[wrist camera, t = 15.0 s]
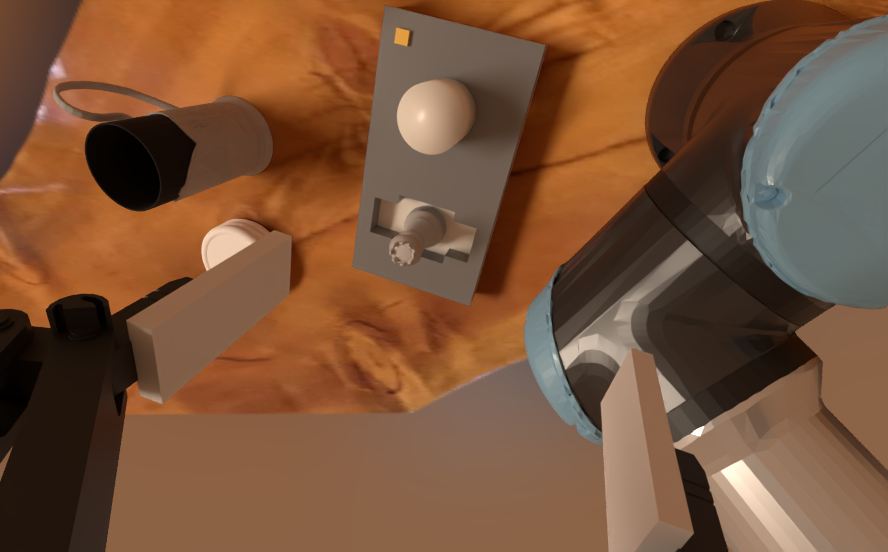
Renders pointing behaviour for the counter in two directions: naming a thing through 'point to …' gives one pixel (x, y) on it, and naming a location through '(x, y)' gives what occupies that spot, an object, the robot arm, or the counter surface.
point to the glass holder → (171, 147)
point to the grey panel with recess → (442, 144)
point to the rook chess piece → (417, 235)
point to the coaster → (229, 240)
